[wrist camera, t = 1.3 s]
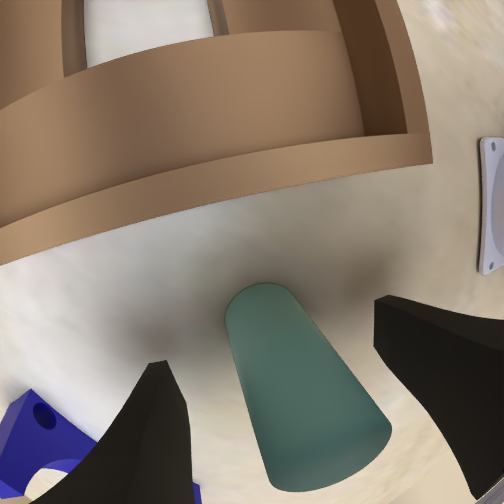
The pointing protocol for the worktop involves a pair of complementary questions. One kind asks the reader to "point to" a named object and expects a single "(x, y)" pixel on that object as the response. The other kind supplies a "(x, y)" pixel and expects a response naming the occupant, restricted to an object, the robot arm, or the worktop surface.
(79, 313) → the worktop surface
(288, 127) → the peg box
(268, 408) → the peg
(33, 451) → the cable clip
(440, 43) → the worktop surface
